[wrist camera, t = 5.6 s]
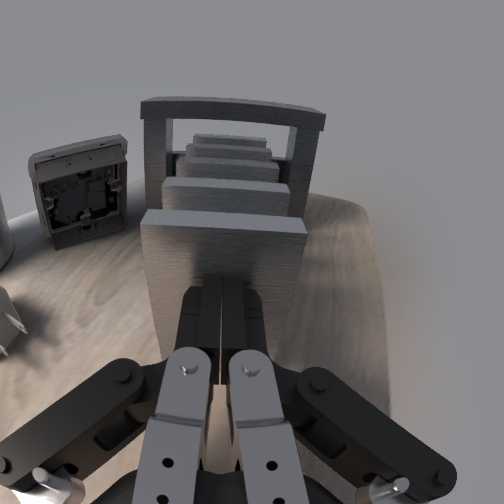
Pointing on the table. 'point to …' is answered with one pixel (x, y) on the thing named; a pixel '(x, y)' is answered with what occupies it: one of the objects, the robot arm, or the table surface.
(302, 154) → the grey open box frame
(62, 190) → the electrical switch
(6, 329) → the usb wall charger
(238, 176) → the heatsink block
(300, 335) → the table surface
